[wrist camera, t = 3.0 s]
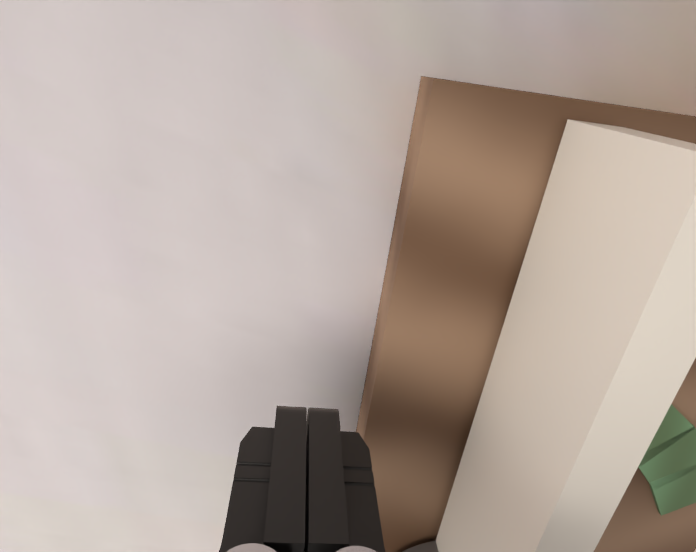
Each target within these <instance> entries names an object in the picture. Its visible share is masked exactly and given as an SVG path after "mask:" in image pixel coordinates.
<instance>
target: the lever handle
mask: <svg viewBox="0 0 696 552" xmlns="http://www.w3.org/2000/svg"><path fill="white" fill-rule="evenodd" d="M695 358H696V144H694V143H690V142H685V141H681V140H677V139H672V138H668V137H664V136H659V135H655V134H651V133H646V132H642V131H638V130H633V129H629V128H625V127H619V126H612V125H605V124H597V123H590V122H583V121H576V120H569V119H568V120H567V123H566V126H565V129H564V133H563V136H562V139H561V142H560V145H559V149H558V152H557V155H556V158H555V161H554V164H553V168H552V171H551V174H550V177H549V180H548V184H547V187H546V190H545V193H544V196H543V200H542V203H541V206H540V209H539V212H538V216H537V219H536V222H535V225H534V228H533V231H532V235H531V238H530V241H529V244H528V247H527V251H526V254H525V257H524V260H523V263H522V267H521V270H520V273H519V276H518V279H517V283H516V286H515V289H514V292H513V295H512V299H511V302H510V305H509V308H508V311H507V314H506V318H505V321H504V324H503V327H502V330H501V334H500V337H499V340H498V343H497V346H496V350H495V353H494V356H493V359H492V362H491V366H490V369H489V372H488V375H487V378H486V381H485V385H484V388H483V391H482V394H481V397H480V401H479V404H478V407H477V410H476V413H475V417H474V420H473V423H472V426H471V429H470V433H469V436H468V439H467V442H466V445H465V448H464V452H463V455H462V458H461V461H460V464H459V468H458V471H457V474H456V477H455V480H454V484H453V487H452V490H451V493H450V496H449V500H448V503H447V506H446V509H445V512H444V515H443V519H442V522H441V525H440V528H439V531H438V535H437V538H436V541H431V542H426V543H423V544H419V545H416V546H414V547H411V548H409V549H407V550H405V551H403V552H594V550H595V548H596V546H597V544H598V542H599V540H600V539H601V537H602V535H603V533H604V531H605V529H606V527H607V525H608V523H609V521H610V520H611V518H612V516H613V514H614V512H615V510H616V508H617V506H618V504H619V502H620V501H621V499H622V497H623V495H624V493H625V491H626V489H627V487H628V485H629V483H630V482H631V480H632V478H633V476H634V474H635V472H636V470H637V468H638V466H639V464H640V463H641V461H642V459H643V457H644V455H645V453H646V451H647V449H648V447H649V445H650V444H651V442H652V440H653V438H654V436H655V434H656V432H657V430H658V428H659V426H660V425H661V423H662V421H663V419H664V417H665V415H666V413H667V411H668V409H669V407H670V406H671V404H672V402H673V400H674V398H675V396H676V394H677V392H678V390H679V388H680V387H681V385H682V383H683V381H684V379H685V377H686V375H687V373H688V371H689V369H690V367H691V366H692V364H693V362H694V360H695Z"/></svg>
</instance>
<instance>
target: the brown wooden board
mask: <svg viewBox="0 0 696 552" xmlns="http://www.w3.org/2000/svg"><path fill="white" fill-rule="evenodd" d="M568 119H569V120H576V121H583V122H590V123H597V124H605V125H612V126H619V127H625V128H629V129H633V130H638V131H642V132H646V133H651V134H655V135H659V136H664V137H668V138H672V139H677V140H681V141H685V142H690V143H694V144H696V117H695V116H688V115H681V114H674V113H668V112H661V111H654V110H647V109H641V108H634V107H627V106H620V105H613V104H607V103H600V102H593V101H586V100H579V99H573V98H566V97H559V96H552V95H546V94H539V93H532V92H525V91H518V90H512V89H505V88H498V87H491V86H484V85H478V84H471V83H464V82H457V81H450V80H444V79H437V78H430V77H423V76H421V81H420V86H419V92H418V97H417V103H416V108H415V114H414V119H413V125H412V130H411V135H410V141H409V146H408V152H407V157H406V163H405V168H404V173H403V179H402V184H401V190H400V195H399V201H398V206H397V211H396V217H395V222H394V228H393V233H392V239H391V244H390V250H389V255H388V260H387V266H386V271H385V277H384V282H383V288H382V293H381V298H380V304H379V309H378V315H377V320H376V326H375V331H374V337H373V342H372V347H371V353H370V358H369V364H368V369H367V375H366V380H365V385H364V391H363V396H362V402H361V407H360V413H359V418H358V423H357V429H356V432H358V433H359V434H360V436H361V437H362V439H363V440H364V442H365V443H366V445H367V446H368V448H369V450H370V457H371V463H372V471H373V476H374V487H375V489H376V496H377V503H378V509H379V516H380V522H381V529H382V535H383V542H384V548H385V552H403V551H405V550H407V549H409V548H411V547H414V546H416V545H419V544H423V543H426V542H431V541H436V538H437V535H438V531H439V528H440V525H441V522H442V519H443V515H444V512H445V509H446V506H447V503H448V500H449V496H450V493H451V490H452V487H453V484H454V480H455V477H456V474H457V471H458V468H459V464H460V461H461V458H462V455H463V452H464V448H465V445H466V442H467V439H468V436H469V433H470V429H471V426H472V423H473V420H474V417H475V413H476V410H477V407H478V404H479V401H480V397H481V394H482V391H483V388H484V385H485V381H486V378H487V375H488V372H489V369H490V366H491V362H492V359H493V356H494V353H495V350H496V346H497V343H498V340H499V337H500V334H501V330H502V327H503V324H504V321H505V318H506V314H507V311H508V308H509V305H510V302H511V299H512V295H513V292H514V289H515V286H516V283H517V279H518V276H519V273H520V270H521V267H522V263H523V260H524V257H525V254H526V251H527V247H528V244H529V241H530V238H531V235H532V231H533V228H534V225H535V222H536V219H537V216H538V212H539V209H540V206H541V203H542V200H543V196H544V193H545V190H546V187H547V184H548V180H549V177H550V174H551V171H552V168H553V164H554V161H555V158H556V155H557V152H558V149H559V145H560V142H561V139H562V136H563V133H564V129H565V126H566V123H567V120H568ZM695 548H696V358H695V360H694V362H693V364H692V366H691V367H690V369H689V371H688V373H687V375H686V377H685V379H684V381H683V383H682V385H681V387H680V388H679V390H678V392H677V394H676V396H675V398H674V400H673V402H672V404H671V406H670V407H669V409H668V411H667V413H666V415H665V417H664V419H663V421H662V423H661V425H660V426H659V428H658V430H657V432H656V434H655V436H654V438H653V440H652V442H651V444H650V445H649V447H648V449H647V451H646V453H645V455H644V457H643V459H642V461H641V463H640V464H639V466H638V468H637V470H636V472H635V474H634V476H633V478H632V480H631V482H630V483H629V485H628V487H627V489H626V491H625V493H624V495H623V497H622V499H621V501H620V502H619V504H618V506H617V508H616V510H615V512H614V514H613V516H612V518H611V520H610V521H609V523H608V525H607V527H606V529H605V531H604V533H603V535H602V537H601V539H600V540H599V542H598V544H597V546H596V548H595V550H594V552H693V551H694V550H695Z"/></svg>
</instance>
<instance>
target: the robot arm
mask: <svg viewBox="0 0 696 552" xmlns="http://www.w3.org/2000/svg"><path fill="white" fill-rule="evenodd" d="M306 415H307V421H306ZM219 552H385V548H384V542H383V535H382V529H381V522H380V516H379V509H378V503H377V496H376V489H375V487H374V476H373V471H372V463H371V457H370V450H369V448H368V446H367V445H366V443H365V442H364V440H363V439H362V437H361V436H360V434H359V433H358V432H341V431H340V421H339V411H338V409H324V408H308V413H307V410H306V408H305V407H288V406H277V410H276V420H275V428H265V427H252V428H251V429H250V431H249V432H248V433H247V435H246V436H245V437H244V439H243V440H242V441H241V442H240V447H239V453H238V458H237V465H236V469H235V474H234V481H233V485H232V491H231V496H230V501H229V507H228V512H227V518H226V523H225V528H224V534H223V539H222V544H221V548H220V550H219Z"/></svg>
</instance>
